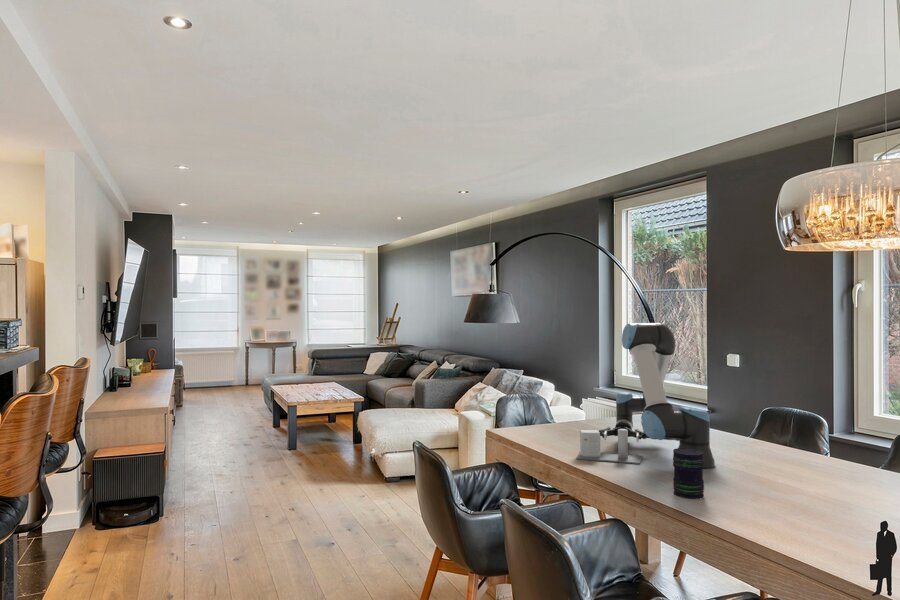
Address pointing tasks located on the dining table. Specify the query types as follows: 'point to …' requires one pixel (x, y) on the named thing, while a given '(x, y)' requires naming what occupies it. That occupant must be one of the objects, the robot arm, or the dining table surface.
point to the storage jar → (688, 473)
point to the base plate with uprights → (622, 452)
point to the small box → (590, 443)
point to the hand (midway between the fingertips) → (621, 438)
